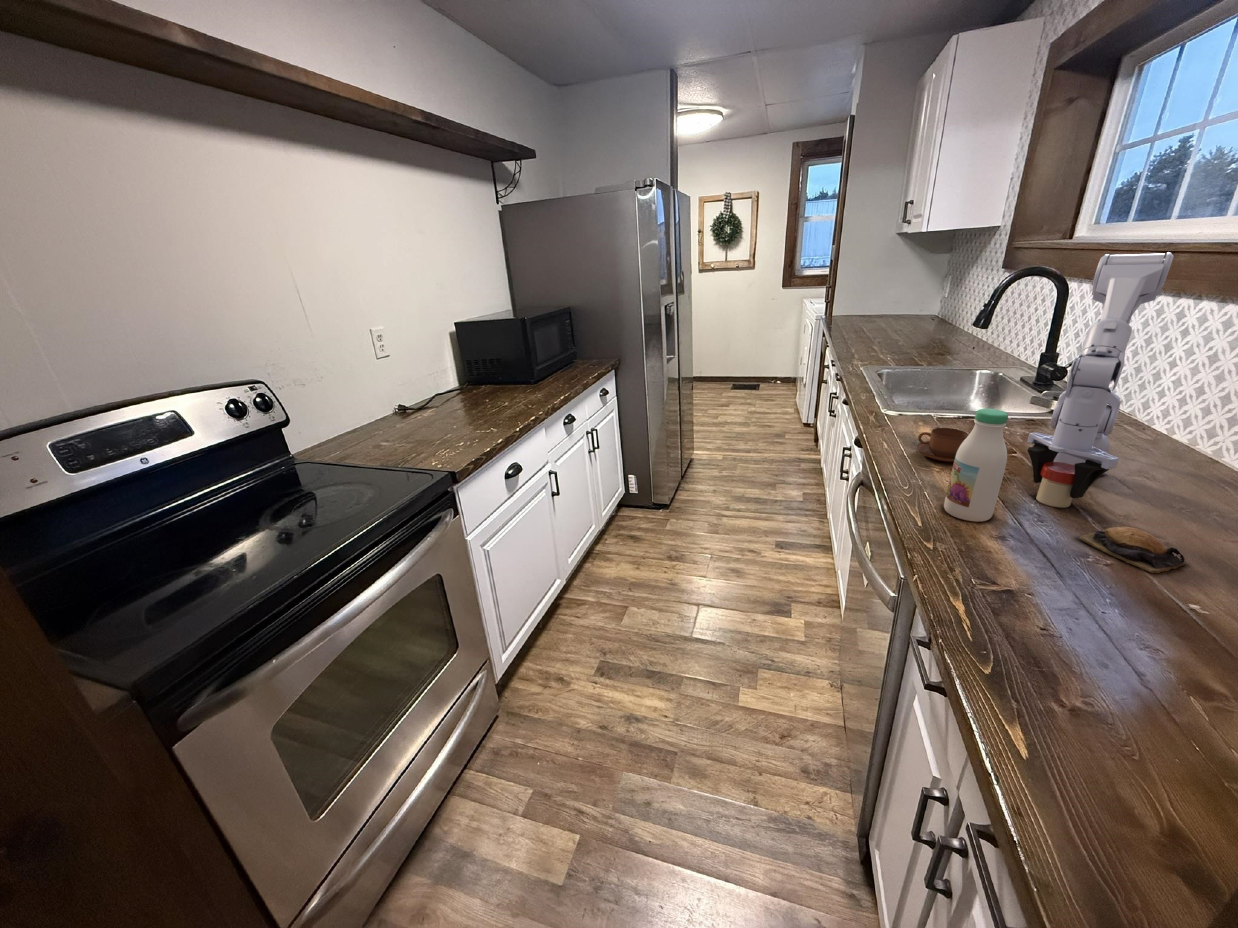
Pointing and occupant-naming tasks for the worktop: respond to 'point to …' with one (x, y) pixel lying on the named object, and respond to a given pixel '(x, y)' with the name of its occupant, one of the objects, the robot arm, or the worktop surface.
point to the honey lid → (1059, 472)
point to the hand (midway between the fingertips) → (1056, 489)
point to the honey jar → (1054, 493)
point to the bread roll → (1135, 548)
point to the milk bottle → (978, 468)
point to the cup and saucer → (942, 443)
